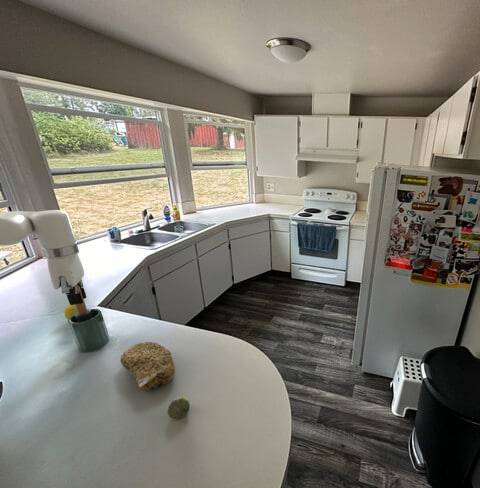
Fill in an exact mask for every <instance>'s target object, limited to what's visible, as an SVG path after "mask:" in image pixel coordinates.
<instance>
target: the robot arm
mask: <svg viewBox="0 0 480 488" xmlns="http://www.w3.org/2000/svg"><path fill="white" fill-rule="evenodd" d="M71 223H72V222H71V220H70V217H69V215H68V213H67V212H66V211H64V210H61V209H49V210H40V211H25V210H12V211H6V212H3V213H1V214H0V246H3V247H5V246H6V247H7V246H13V245H14V246H15V245H18V244H20V243H21V242H23V241H25V240H26V239H27V238H28V237H30V236H32V235H36V236H37V239H38V241H39V245H40V247H41V249H42V252H43V255H44V258H45V260H47V261H46V263H47V268H48V273H49V278H50V280H51V283H52V286H53V289H54V290H59V289H61V294H64V295H65V296H66V298H67V300H68V305H76V304H82V303H83V299H84V300H86V299H87V293H86V290H85V288H84V283H83V278H84V276H85V269H84V267H83V264H82V261H81V258H80V255H79V254H80V249H79V246H78V242H77V240H76V237H75V233H74V229H73V226H72V224H71ZM77 285H79V287H80V290H81V293H82V296H83V299H82V296H81V293H80V292H78V288H77ZM72 287H73V289H69V288H72Z"/></svg>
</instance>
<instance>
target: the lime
mask: <svg viewBox="0 0 480 488" xmlns="http://www.w3.org/2000/svg"><path fill="white" fill-rule="evenodd" d="M190 407H191V405H190V401H189V400H188V399H187V398H186V397H184V396H180V397H175V398H174V399H173V400H172V401H171V402H170V403H169V405H168V408H167V415H168V417H169V418H170V419H172V420H175V421H176V420H179V419H182V418H183V417H185V416H186V415H187V414H188V413H189V412H190Z"/></svg>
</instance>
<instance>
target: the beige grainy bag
mask: <svg viewBox="0 0 480 488" xmlns="http://www.w3.org/2000/svg"><path fill="white" fill-rule="evenodd" d="M120 363H121V366H122V367H123V368H124V369H125V370H126V371H127V372H129V373H130V374H131V375H133V377H135V381H136V386H137V388H139V390H141V391H146V392H147V391H150V390H151V389H155V388H157V387H160V385H165V384H170V383H171V381H172V380H173V377H174V375H175V373H176V365H175V363H174V359H173V356H172V352H171V350H169V349H167V348H166V347H165V346H163V345H161V344H160V343H158V342H154V341H144V342H138V343H135V344H134V345H131V346H130V347H129V348H128V349H126V350H125V351H124V352H123V353H122V355H120Z"/></svg>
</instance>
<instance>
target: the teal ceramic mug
mask: <svg viewBox="0 0 480 488" xmlns="http://www.w3.org/2000/svg"><path fill="white" fill-rule="evenodd" d="M90 310H91V313H92V316H93V318H92V319H90V320H87V321H84V322H79V323H77V320H76V317H75V314H74V315H73V316H71V317H70V318H69V319H67V324H68V326H69V329H70V330H71V333H72V336H73V339H74V342H75V344H76V346H77V349H78V351H79V353H91V352H95V351H98V350H99V349H101V348H103V347H105V346H106V345H107V344H108V343H109V342H110V339H111V337H110V335H109V332H108V328H107V325H106V322H105V319H104V316H103V313H102V310H101V309H99V308H90Z"/></svg>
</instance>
